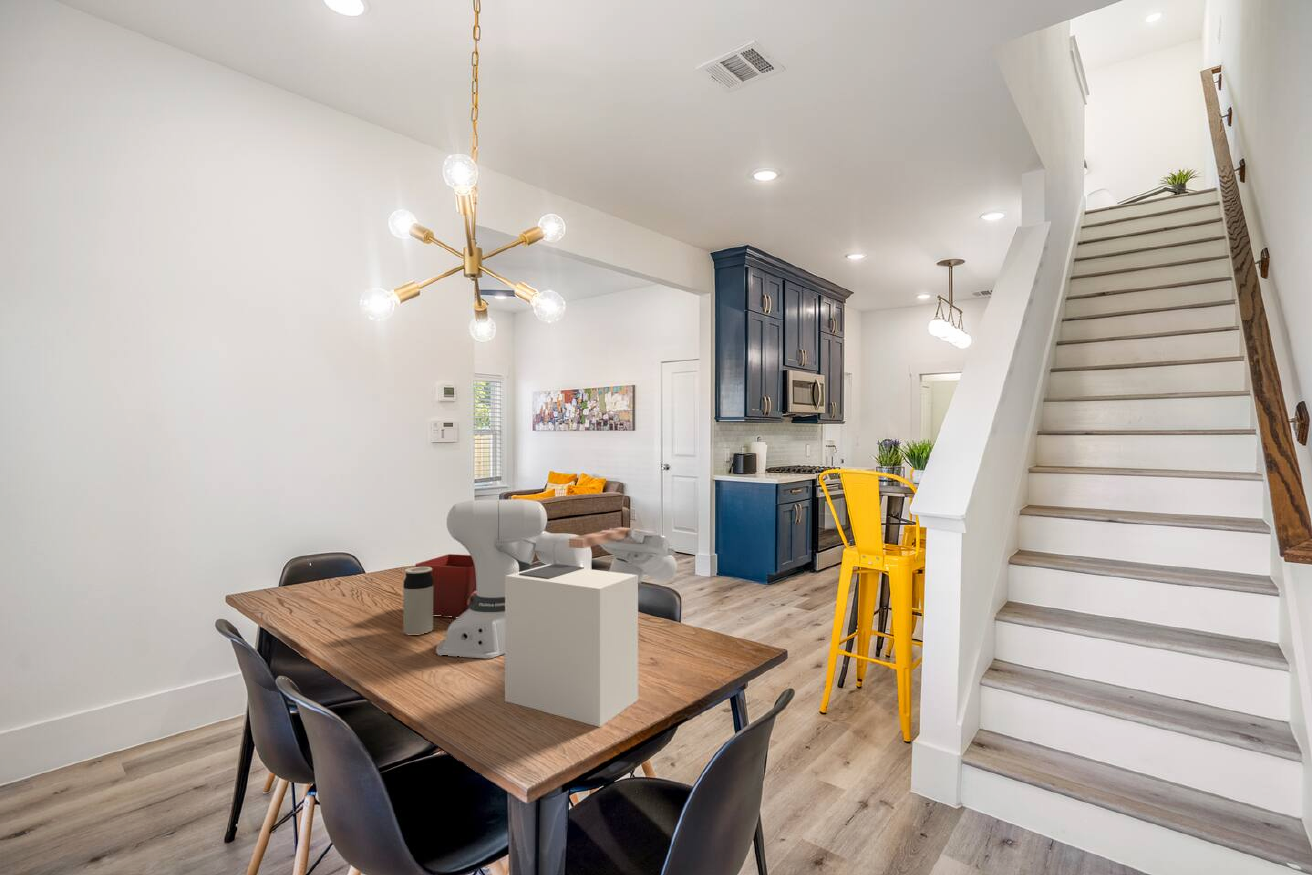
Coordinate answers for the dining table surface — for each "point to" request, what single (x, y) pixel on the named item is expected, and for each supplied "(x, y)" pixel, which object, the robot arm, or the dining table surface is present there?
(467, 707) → the dining table surface
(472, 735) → the dining table surface
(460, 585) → the plant pot
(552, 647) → the tall white box
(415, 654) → the dining table surface
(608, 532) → the terracotta slat
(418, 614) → the travel mug
